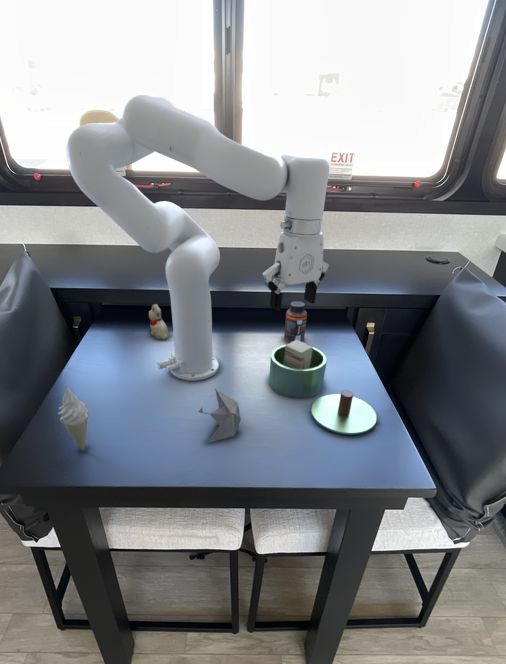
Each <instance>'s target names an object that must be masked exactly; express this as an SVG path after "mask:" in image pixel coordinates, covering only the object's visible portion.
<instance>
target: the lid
mask: <svg viewBox="0 0 506 664" xmlns="http://www.w3.org/2000/svg"><path fill="white" fill-rule="evenodd" d="M310 413H311V417H312V418H313V420H314V421H315V422H316V423H317V424H318V425H319V426H321V427H322V428H324V429H325V430H328V431H331V432H333V433H336V434H341V435H347V436H348V435H349V436H351V435H352V436H353V435H361V434H364V433H367V432H370V431H371V430H372V429H374V427H375V426H376V424H377V420H378V416H377V413H376V411H375V409H374V408H373V407H372V406H371V405H370V404H369V403H367V402H366V401H364V400H363V399H360V398H358V397H355V396H354V393H353V392H352V391H350V390H348V389H347V390H346V389H345V390H342V391H341V392H340V394H339V393H334V394H333V393H332V394H326V395H322V396H320V397H319V398H316V400H314V401H313V403H312V404H311V408H310Z"/></svg>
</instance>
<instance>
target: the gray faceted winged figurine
mask: <svg viewBox="0 0 506 664" xmlns="http://www.w3.org/2000/svg"><path fill="white" fill-rule="evenodd" d="M214 391H215V396H216V400H217V404H218V408H217V409H215V410H213V411H212V412H210V413H207V412H203V407H201V408H200V409H199V410H198V411H197V413H200V414H205V415H209V416H210V417H211V418H212V419H213V420H214V421H215V422H216V423H217V424H218V425H219V426H218V427H217V428H216V430H215V431H214V433H213V434H212V436H211V438H210V439H209V441H208V443H213V442H216V441H220V440H224V439H227V438H232V437H235V436H236V433H237V431H238V429H239V426H240V422H241V412H240V406H239V403H238V401H237V400H235V399H233V398H231V397H230V396H229V395H227V394H225V393H223V392H221V390H218V389H217V388H214Z"/></svg>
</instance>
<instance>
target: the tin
mask: <svg viewBox="0 0 506 664" xmlns="http://www.w3.org/2000/svg"><path fill="white" fill-rule="evenodd" d="M285 347H286V344H283V345H279V346H278V347H275V348H274V349H272V351H271V352H270V360H269V361H270V363H269V375H268V377H269V378H268V379H269V380H268V382H269V386H270V387H271V389H272V390H273V391H275V393H278V394H279V395H281V396H284V397H288V398H292V399H306V398H311V397H314V396H316V395H318V394H319V393H320V392H321V391H322V389H323V386H324V381H325V375H326V369H327V368H326V367H327V362H328V360H327V356H326V354H325V353H324V352H323V351H322V350H320V349H318V348H317V347H314V346H312V347H313V348H312V355H311V362H310V368H309V369H294V368H289V367H286V366H284V356H285Z"/></svg>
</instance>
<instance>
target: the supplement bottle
mask: <svg viewBox="0 0 506 664" xmlns="http://www.w3.org/2000/svg"><path fill="white" fill-rule="evenodd" d="M289 305H290V306H289V309H287V310H286V313H285V321H284V322H285V323H284V333H283V334H284V335H283V338H284V341H286V342H287V343H290V342H292V341H295V340H299V341H301V342H304V341H305V334H306V326H307V316H308V312H307V311H306V310H305V307H306V306H305V303H304V302H302V301H292V302H290V304H289Z"/></svg>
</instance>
